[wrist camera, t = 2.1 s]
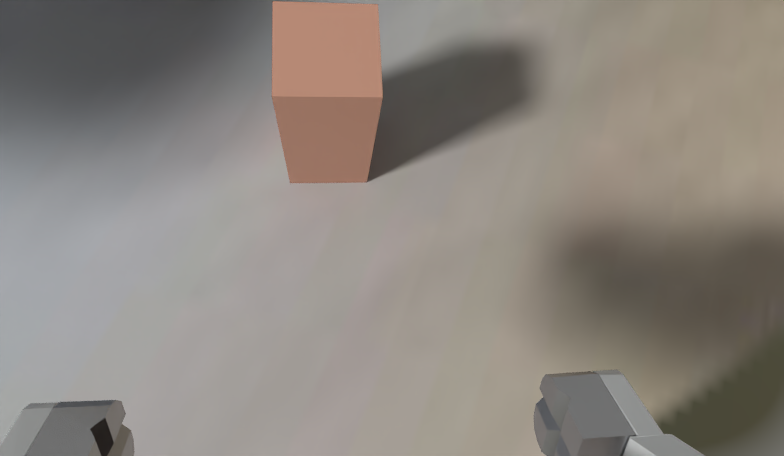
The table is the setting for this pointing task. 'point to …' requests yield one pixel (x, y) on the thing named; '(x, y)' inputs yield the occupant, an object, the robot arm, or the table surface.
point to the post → (326, 88)
